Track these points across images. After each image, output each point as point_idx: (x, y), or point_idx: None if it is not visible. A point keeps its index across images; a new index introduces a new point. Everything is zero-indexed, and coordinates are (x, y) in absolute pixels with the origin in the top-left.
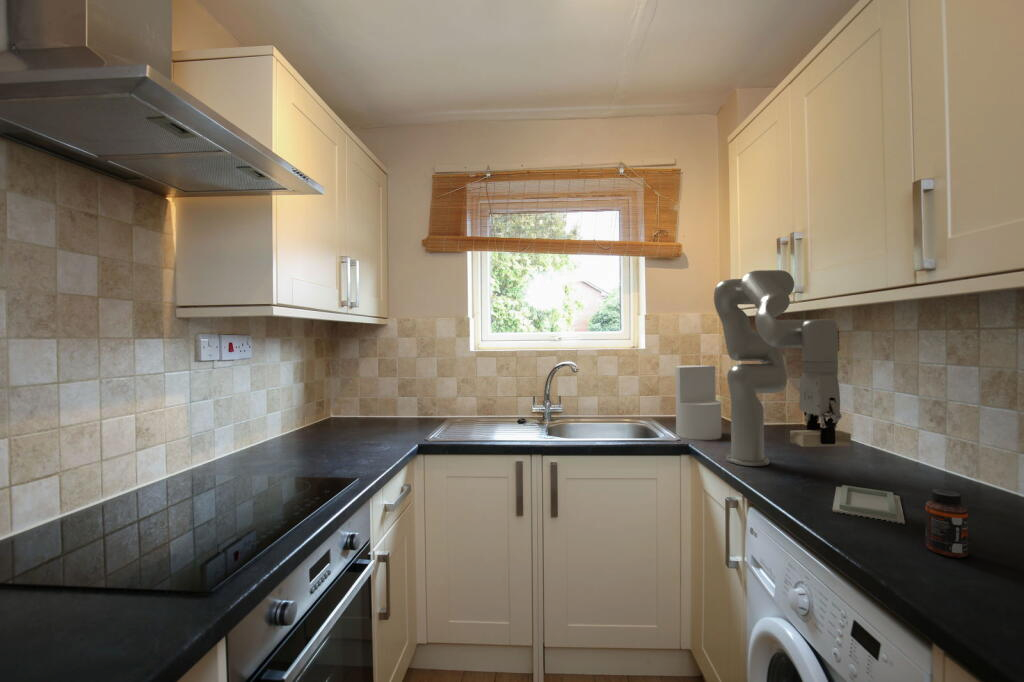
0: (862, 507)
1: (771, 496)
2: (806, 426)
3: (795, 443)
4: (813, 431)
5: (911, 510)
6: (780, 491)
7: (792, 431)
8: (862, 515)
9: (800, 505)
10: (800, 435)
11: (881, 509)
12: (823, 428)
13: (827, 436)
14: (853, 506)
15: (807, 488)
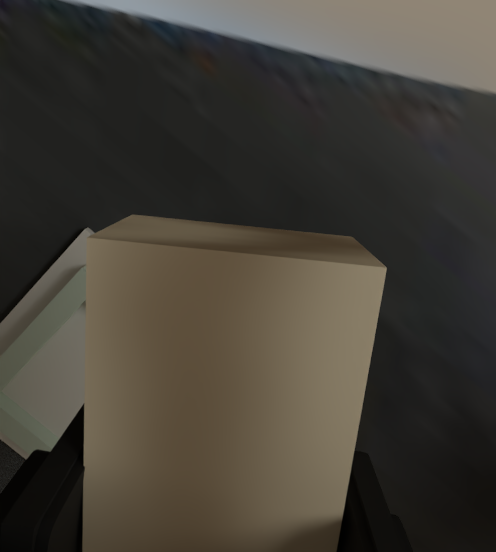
0: (40, 335)
1: (319, 89)
2: (402, 549)
3: (262, 228)
4: (254, 505)
5: None
6: (376, 191)
7: (331, 260)
8: (21, 302)
9: (178, 144)
10: (150, 238)
11: (67, 419)
12: (5, 537)
13: (16, 481)
14: (54, 309)
15: (382, 349)
